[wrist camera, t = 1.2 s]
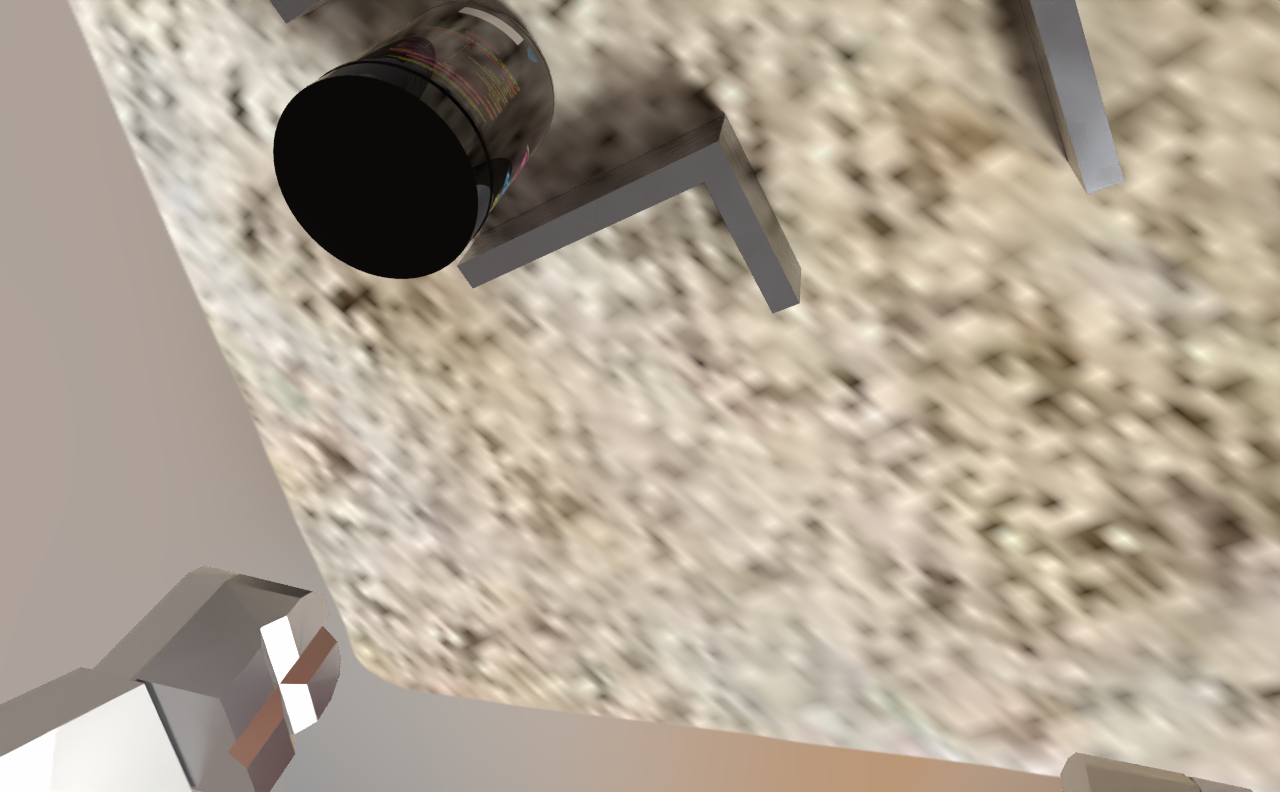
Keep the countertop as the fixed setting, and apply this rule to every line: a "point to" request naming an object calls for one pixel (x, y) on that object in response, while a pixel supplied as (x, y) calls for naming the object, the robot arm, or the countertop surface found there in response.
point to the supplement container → (415, 140)
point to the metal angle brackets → (736, 188)
